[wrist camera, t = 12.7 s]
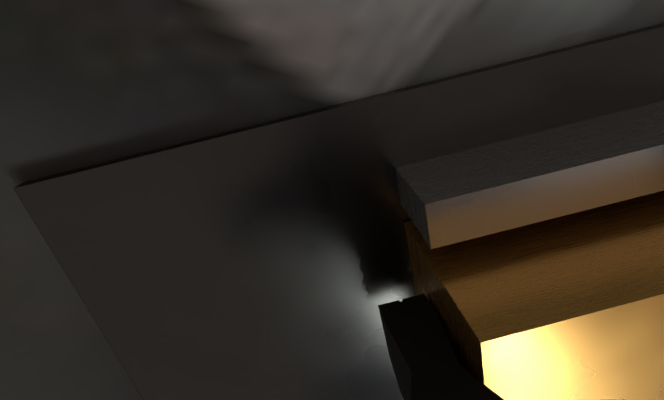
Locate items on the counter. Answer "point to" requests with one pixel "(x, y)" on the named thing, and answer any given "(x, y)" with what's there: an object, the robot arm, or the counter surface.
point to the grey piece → (339, 217)
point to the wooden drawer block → (556, 303)
